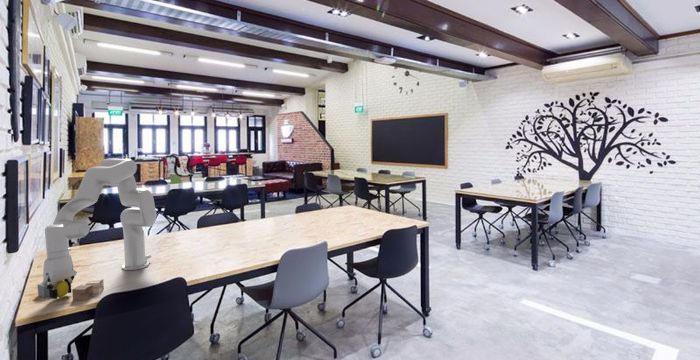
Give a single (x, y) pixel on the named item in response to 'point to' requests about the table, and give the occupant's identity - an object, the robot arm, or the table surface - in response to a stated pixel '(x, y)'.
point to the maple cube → (96, 285)
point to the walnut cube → (82, 292)
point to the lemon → (62, 288)
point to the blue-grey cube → (43, 291)
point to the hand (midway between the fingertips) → (60, 295)
